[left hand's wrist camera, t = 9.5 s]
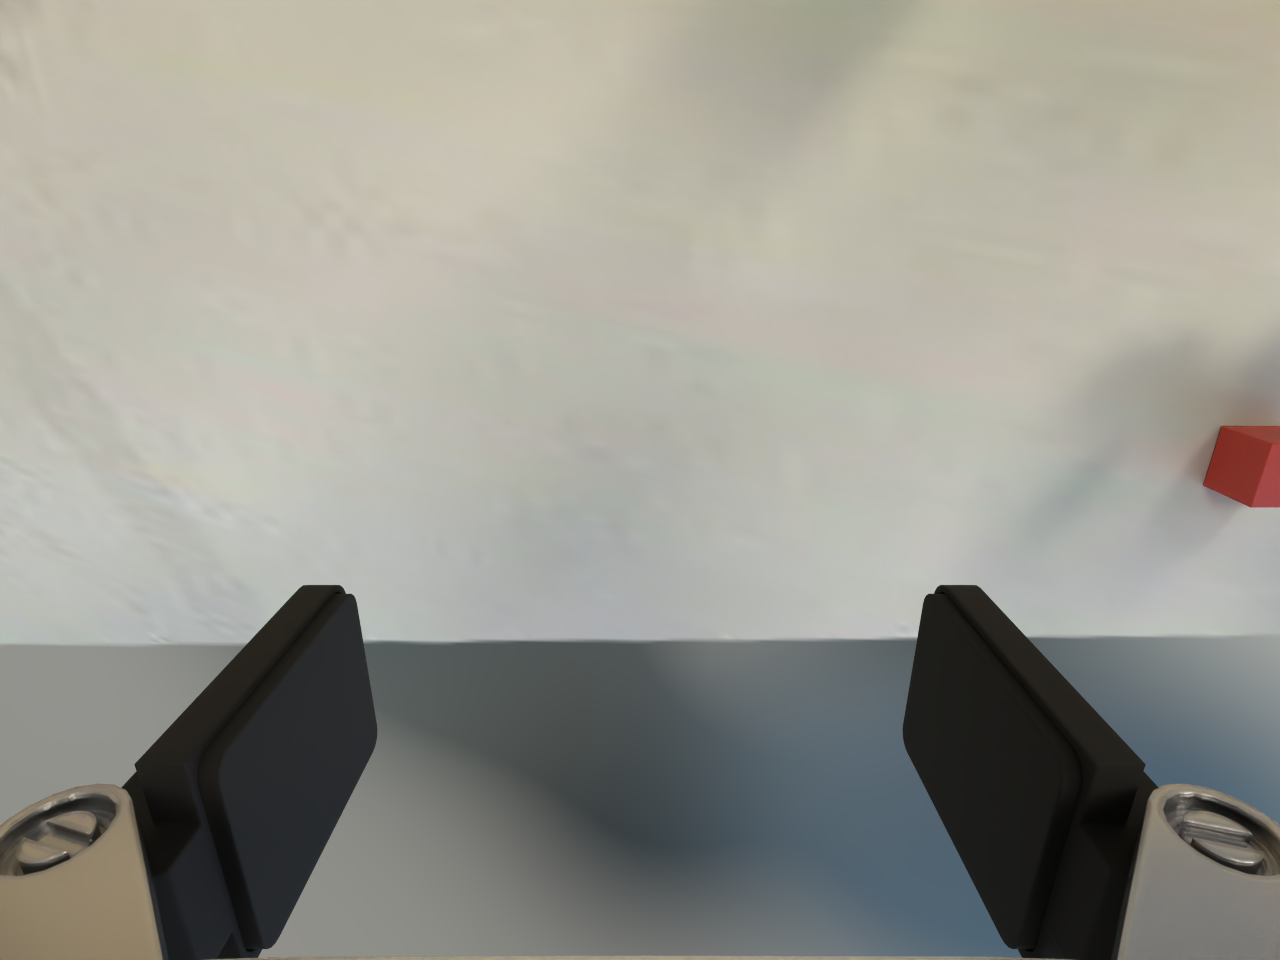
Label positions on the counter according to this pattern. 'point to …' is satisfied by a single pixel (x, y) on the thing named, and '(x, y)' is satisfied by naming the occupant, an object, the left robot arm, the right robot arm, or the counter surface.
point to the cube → (1247, 465)
